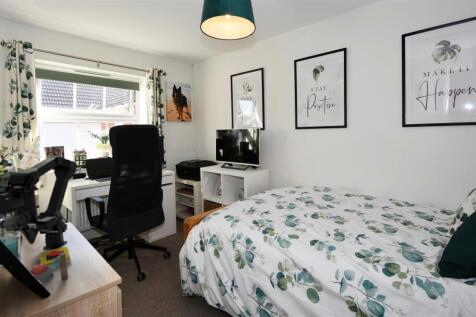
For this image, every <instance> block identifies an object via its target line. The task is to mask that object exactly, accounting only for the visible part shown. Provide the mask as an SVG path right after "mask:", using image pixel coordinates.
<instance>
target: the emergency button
mask: <svg viewBox="0 0 476 317" xmlns="http://www.w3.org/2000/svg"><path fill="white" fill-rule="evenodd" d="M60 253H66V262H67V268H68V267H71V266H72V263H73V262H72V260H71V255H70V251H69V249H68V247H67V246H61V247H59V248H57V249H50V250H46V251H44V252H41V253H39V254H40V255H39V257H40V260H39V261H40V264H46V266H50V267H52V261H53V260H54V259H56V258H57V257H58V256H59V254H60ZM57 270H60V265H59V266H57V267H56V268H55V269H53V272H54V271H57Z"/></svg>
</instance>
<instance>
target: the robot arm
mask: <svg viewBox="0 0 476 317" xmlns="http://www.w3.org/2000/svg"><path fill="white" fill-rule="evenodd" d="M77 169H78V164H77V163H76V162H75V161H73V160H70V159H67V158H65V157H62V156H61V155H49V156H47V157H46V158H45V159H43V160H42V161H39V162H38V163H36V164H34V165H32V166H31V167H29V168H26V169H25V168H24V169H22V170H18V171H14V172H13V173H12V172H11V174H10V175H9V178H8V181H7V183H8V185H10V184H11V187H10V186H7V188H6V189H5V188H4V190H3V193H1V194H0V215H8V214H10V213H11V212H13V215H12V217H11V216H9V217H10V218H9V217H7V218H8V219H6V218H5V220H4V219H1V221H2V222H1V221H0V222H1V223H0V229H4V230H5V232H19V233H22V234H23V236H24V237H25V239H26V240H27V242H28V243H29V245H32V244H34V243H35V241H36V239H37V237H38V233H39V234H40V235H44V237H45V238H44V243H45V245H44V246H43V247H42V249H46V250H47V249H50V250H54V249H58V248H61V247H63V245H65V244H67V243H68V241H67V240H65V239H64V233H65V232H66V231H67V230H68V224H67V223H66V222H64V221H63V218H64V217H63V214H62V213H61V210H62V206H63V202H64V198H65V195H66V192H67V188H68V184H69V181H70V180H71V179H72V178H73V177H74V176H75V174H76V173H77ZM52 170H53V174H54V175H55V182H54V184H53V188H52V191H51V194H50V198H49V202H48V205H47V207H46V210H44V212H43V211H42V212H40V213H39V214H38V209H39V208H40V204H37V200H36V193H35V192H36V191H38V190H39V187H37V186H36V185H37V183H39V181H40V178H41V177H42V176H44V175H45V174H47V173H48V172H50V171H52Z"/></svg>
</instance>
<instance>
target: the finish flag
mask: <svg viewBox="0 0 476 317" xmlns="http://www.w3.org/2000/svg"><path fill="white" fill-rule="evenodd" d="M59 265H60V269H59V270H60V279H61V281H65V280H68V279H69V273H68V267H67V262H66V253H60V254H59V256H58V257H57V258H56V259H54V260H53V261H52V269H55V268H56V267H57V266H59Z"/></svg>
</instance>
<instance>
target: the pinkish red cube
mask: <svg viewBox="0 0 476 317" xmlns="http://www.w3.org/2000/svg"><path fill="white" fill-rule="evenodd" d="M31 269H32V270H31V271H32V272H33V275H41V274H42V273H44V272H45V271H46V264H41V263H37V264H35V265H34V266H32V267H31Z"/></svg>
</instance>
